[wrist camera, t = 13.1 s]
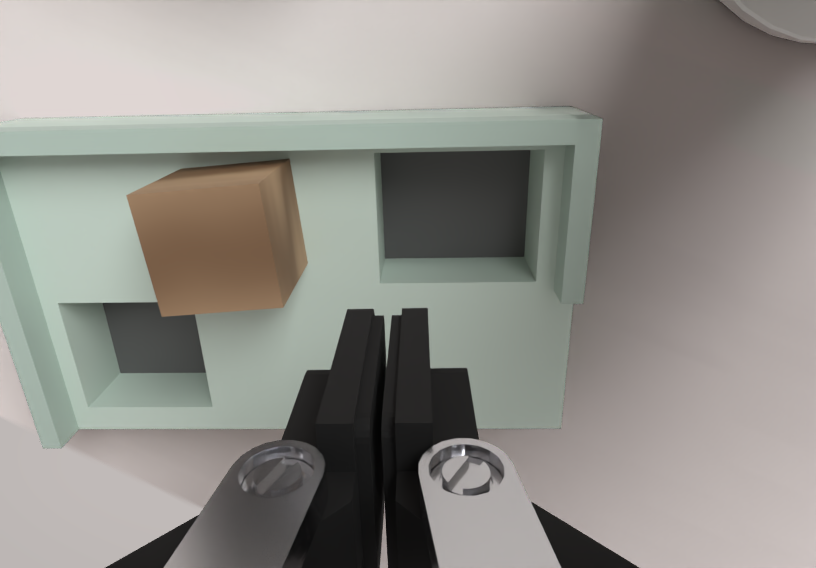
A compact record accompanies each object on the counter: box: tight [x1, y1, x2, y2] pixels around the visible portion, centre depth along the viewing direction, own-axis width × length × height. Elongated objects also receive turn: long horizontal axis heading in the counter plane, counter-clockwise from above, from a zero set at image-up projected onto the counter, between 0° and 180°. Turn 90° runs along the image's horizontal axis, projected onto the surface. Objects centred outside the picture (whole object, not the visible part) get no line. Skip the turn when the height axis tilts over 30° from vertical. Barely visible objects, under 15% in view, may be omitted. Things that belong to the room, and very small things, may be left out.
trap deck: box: [0, 106, 603, 448], centre depth 23 cm, size 13×22×4 cm, turn 91°
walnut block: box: [126, 159, 308, 317], centre depth 19 cm, size 4×4×4 cm
